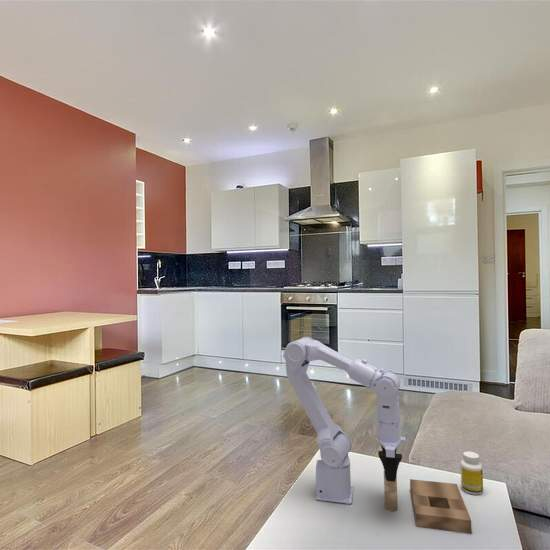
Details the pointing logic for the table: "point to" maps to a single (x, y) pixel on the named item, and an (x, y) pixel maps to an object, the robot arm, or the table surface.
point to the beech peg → (390, 494)
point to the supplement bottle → (471, 474)
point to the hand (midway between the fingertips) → (390, 472)
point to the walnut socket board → (439, 506)
